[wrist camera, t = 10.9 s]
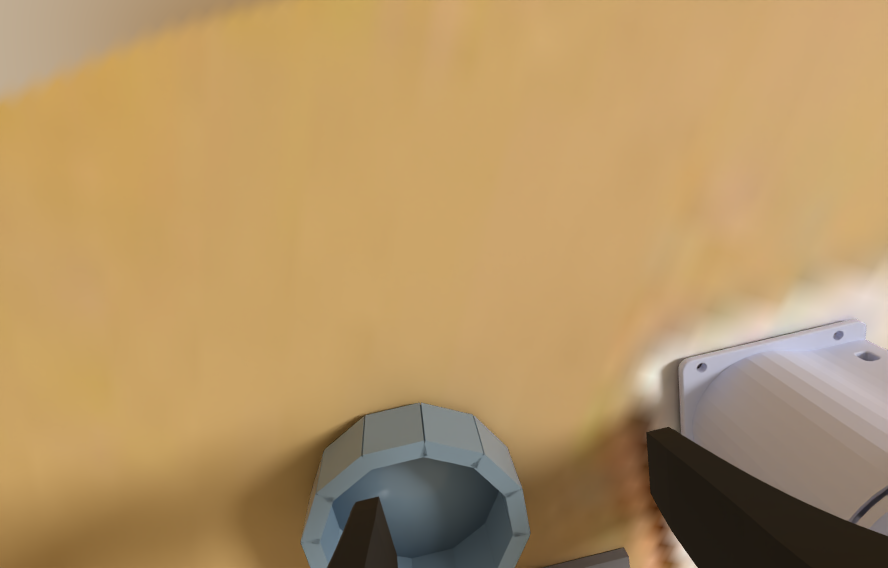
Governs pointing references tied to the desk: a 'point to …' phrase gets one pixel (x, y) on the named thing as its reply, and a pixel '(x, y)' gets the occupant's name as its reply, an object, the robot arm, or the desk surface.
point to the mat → (599, 561)
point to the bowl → (422, 490)
